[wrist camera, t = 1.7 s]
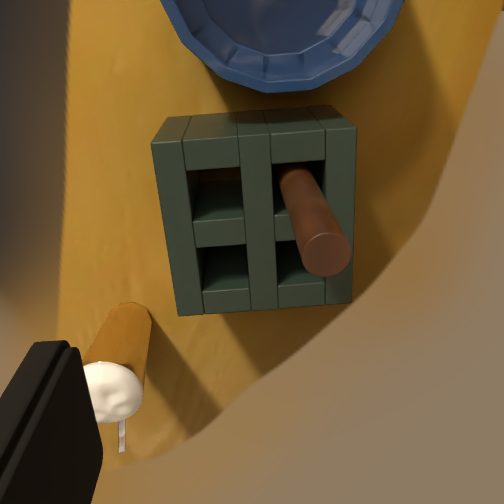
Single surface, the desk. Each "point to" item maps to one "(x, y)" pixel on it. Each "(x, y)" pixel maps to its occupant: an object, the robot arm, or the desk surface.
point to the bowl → (281, 38)
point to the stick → (312, 221)
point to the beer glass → (118, 365)
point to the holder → (250, 207)
